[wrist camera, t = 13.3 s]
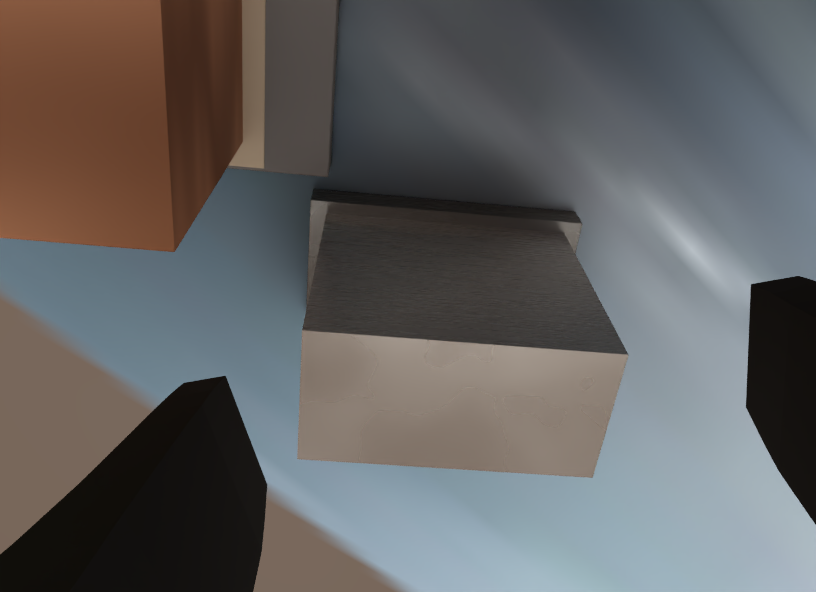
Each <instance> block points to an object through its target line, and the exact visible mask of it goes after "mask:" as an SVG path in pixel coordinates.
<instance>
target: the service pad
mask: <svg viewBox="0 0 816 592" xmlns="http://www.w3.org/2000/svg"><path fill="white" fill-rule="evenodd" d="M338 18H339V0H242V84H243V142H242V144H241V146H240V147H239V149H238V150H237V152H236V154H235V155H234V157H233V159H232V160H231V162H230V163H229V165H228V167H227V168H232V169H244V170H255V171H266V172H277V173H288V174H300V175H311V176H322V177H328V174H329V170H330V165H331V152H332V133H333V114H334V95H335V76H336V57H337V37H338Z"/></svg>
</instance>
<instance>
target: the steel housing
mask: <svg viewBox="0 0 816 592" xmlns="http://www.w3.org/2000/svg"><path fill="white" fill-rule="evenodd" d="M581 227H582V222H581V221H580V219H579V217H578V216H577V214H576V212H572V211H560V210H549V209H538V208H526V207H515V206H504V205H492V204H481V203H470V202H458V201H447V200H436V199H424V198H413V197H402V196H390V195H379V194H368V193H356V192H345V191H333V190H322V189H314V190H313V194H312V197H311V206H310V231H309V256H308V282H307V307H306V315H305V319H304V324H303V329H302V350H301V377H300V404H299V431H298V458H297V459H305V460H321V461H336V462H352V463H368V464H384V465H400V466H416V467H432V468H448V469H463V470H479V471H495V472H511V473H527V474H543V475H559V476H574V477H590V478H592V477H593V474H594V471H595V467H596V464H597V460H598V457H599V454H600V450H601V447H602V443H603V440H604V437H605V433H606V430H607V426H608V423H609V419H610V416H611V413H612V409H613V406H614V402H615V399H616V396H617V392H618V389H619V385H620V382H621V379H622V375H623V372H624V368H625V365H626V362H627V358H628V353H627V351H626V349H625V347H624V345H623V344H622V342H621V340H620V338H619V336H618V334H617V332H616V330H615V328H614V327H613V325H612V323H611V321H610V319H609V317H608V315H607V313H606V311H605V309H604V308H603V306H602V304H601V302H600V300H599V298H598V296H597V294H596V292H595V291H594V289H593V287H592V285H591V283H590V281H589V279H588V277H587V275H586V274H585V272H584V270H583V268H582V266H581V264H580V262H579V260H578V258H577V256H576V255H575V253H576V249H577V244H578V240H579V236H580V231H581Z"/></svg>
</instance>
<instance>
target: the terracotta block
mask: <svg viewBox="0 0 816 592" xmlns="http://www.w3.org/2000/svg"><path fill="white" fill-rule="evenodd" d="M242 142H243V84H242V0H0V238H10V239H23V240H35V241H47V242H59V243H71V244H83V245H96V246H108V247H120V248H132V249H144V250H156V251H169V252H175V250H176V249H177V247H178V246H179V244H180V242H181V241H182V239H183V238H184V236H185V234H186V233H187V231H188V229H189V228H190V226H191V225H192V223H193V221H194V220H195V218H196V217H197V215H198V213H199V212H200V210H201V209H202V207H203V205H204V204H205V202H206V200H207V199H208V197H209V196H210V194H211V192H212V191H213V189H214V188H215V186H216V184H217V183H218V181H219V180H220V178H221V176H222V175H223V173H224V171H225V170H226V168H227V167H228V165H229V163H230V162H231V160H232V159H233V157H234V155H235V154H236V152H237V150H238V149H239V147H240V146H241V144H242Z"/></svg>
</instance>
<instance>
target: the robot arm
mask: <svg viewBox="0 0 816 592" xmlns="http://www.w3.org/2000/svg"><path fill="white" fill-rule="evenodd" d="M746 408H747V410H748V412H749V414H750V416H751V418H752V420H753V422H754V424H755V426H756V428H757V430H758V432H759V434H760V436H761V438H762V440H763V442H764V444H765V446H766V448H767V450H768V452H769V454H770V455H771V457H772V459H773V461H774V463H775V465H776V467H777V469H778V470H779V472H780V473H781V475H782V476H783V478H784V479H785V481H786V482H787V484H788V485H789V487H790V488H791V490H792V491H793V492H794V494H795V495H796V497H797V498H798V500H799V501H800V503H801V504H802V505H803V507H804V508H805V510H806V511H807V513H808V514H809V516H810V517H811V518H812V520H813V521H814V523H815V524H816V281H814V280H810V279H807V278H804V277H800V276H795V277H790V278H784V279H778V280H773V281H767V282H761V283H755V284H751V299H750V323H749V348H748V372H747V397H746ZM266 493H267V483H266V481H265V478H264V475H263V473H262V470H261V467H260V465H259V462H258V460H257V457H256V454H255V452H254V449H253V447H252V444H251V441H250V439H249V436H248V433H247V431H246V428H245V426H244V423H243V420H242V418H241V415H240V413H239V410H238V407H237V405H236V402H235V399H234V397H233V394H232V392H231V389H230V386H229V384H228V381H227V379H226V376H221V377H216V378H210V379H204V380H198V381H193V382H187V383H183V384H182V385H181V386H180V387H178V388H177V389H176V390H175V391H174V392H172V393H171V394H170V395H169V396H168V397H167V398H166V399H165V400H164V401H163V402H162V403H161V404H160V405H159V406H157V407H156V408H155V409H154V410H153V411H152V412H151V413H150V414H149V415H148V416H147V417H146V418H145V419H144V420H143V421H142V422H141V423H140V424H139V425H138V426H137V427H136V428H135V429H134V430H133V431H132V432H131V433H130V434H129V435H128V436H127V437H126V438H125V439H124V440H123V441H122V442H121V443H120V444H119V445H118V446H117V447H116V448H115V449H114V450H113V451H112V452H111V453H110V454H109V455H108V456H107V457H106V458H105V459H104V460H103V461H102V462H101V463H100V464H99V465H98V466H97V467H96V468H95V469H94V470H93V471H92V472H91V473H90V474H88V475H87V477H86V478H84V479H83V480H82V481H81V482H80V483H79V484H78V485H77V486H76V487H75V488H74V489H73V490H72V491H70V492H69V493H68V494H67V495H66V496H65V497H64V498H63V499H62V500H61V501H60V502H58V503H57V504H56V505H55V506H54V507H53V508H52V509H51V510H50V511H49V512H47V513H46V514H45V515H44V516H43V517H42V518H41V519H40V520H39V521H38V522H37V523H36V524H34V525H33V526H32V527H31V528H30V529H29V530H28V531H27V532H26V533H25V534H23V535H22V536H21V537H20V538H19V539H18V540H17V541H16V542H14V543H13V544H12V545H11V546H10V547H9V548H8V549H6V550H5V551H4V552H3V553H2V554H0V592H253V589H254V584H255V580H256V575H257V571H258V566H259V561H260V556H261V551H262V542H263V531H264V521H265V508H266Z"/></svg>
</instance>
